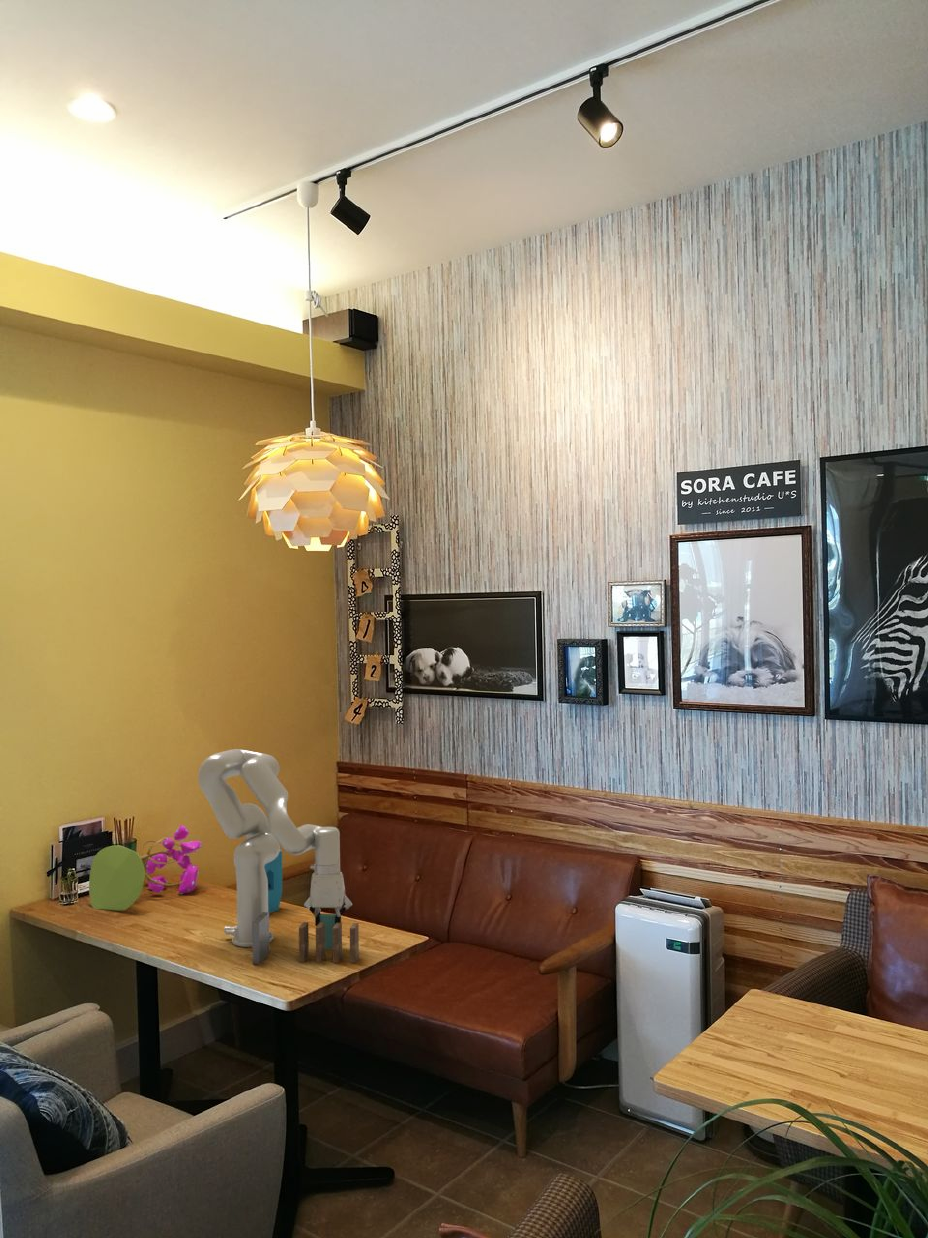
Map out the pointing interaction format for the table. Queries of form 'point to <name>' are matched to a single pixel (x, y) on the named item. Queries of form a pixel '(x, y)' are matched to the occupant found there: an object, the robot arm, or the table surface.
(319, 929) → the walnut tile
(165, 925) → the table surface
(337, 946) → the walnut tile
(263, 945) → the bookend
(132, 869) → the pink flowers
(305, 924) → the walnut tile
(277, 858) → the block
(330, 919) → the teal tile
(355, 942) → the walnut tile
